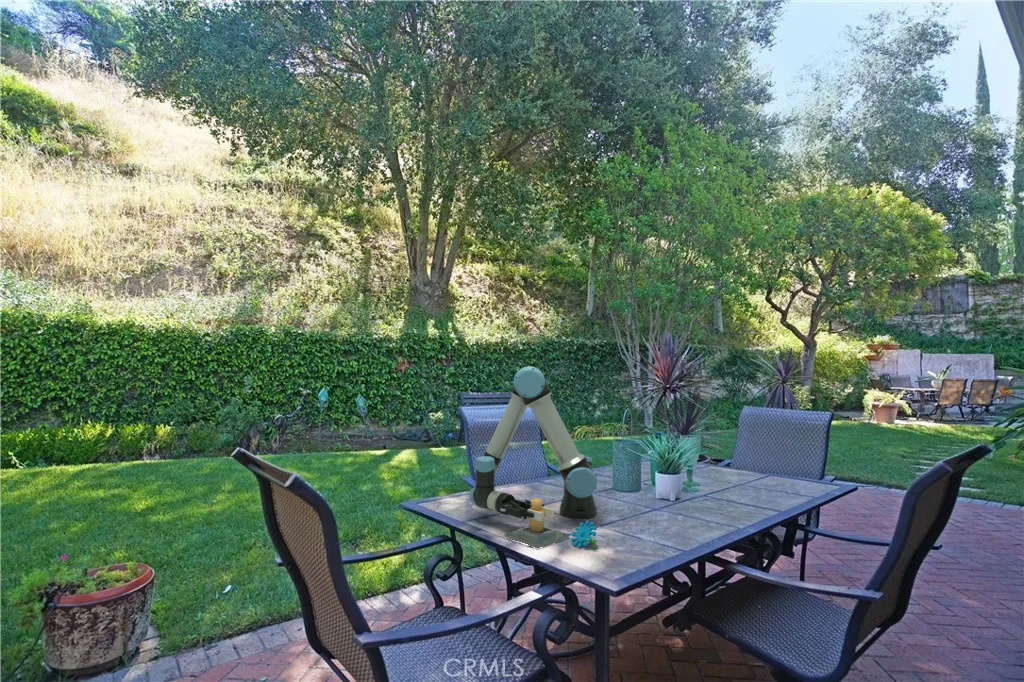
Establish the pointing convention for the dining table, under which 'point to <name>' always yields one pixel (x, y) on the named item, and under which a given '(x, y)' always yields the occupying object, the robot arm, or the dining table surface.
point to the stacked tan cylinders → (534, 524)
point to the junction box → (537, 536)
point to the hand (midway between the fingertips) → (547, 515)
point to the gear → (584, 535)
